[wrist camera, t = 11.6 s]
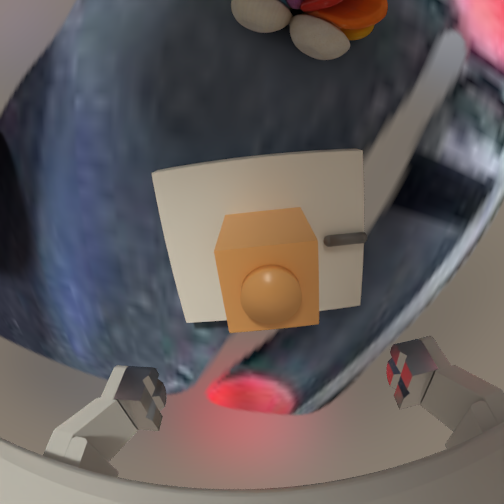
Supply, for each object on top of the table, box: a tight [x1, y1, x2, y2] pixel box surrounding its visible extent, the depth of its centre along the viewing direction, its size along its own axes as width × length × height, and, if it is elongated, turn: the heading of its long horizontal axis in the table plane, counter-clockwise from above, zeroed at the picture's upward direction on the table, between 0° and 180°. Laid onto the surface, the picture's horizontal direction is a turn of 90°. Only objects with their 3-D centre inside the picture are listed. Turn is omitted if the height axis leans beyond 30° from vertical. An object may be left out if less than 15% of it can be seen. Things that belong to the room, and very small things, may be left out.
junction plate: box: [151, 148, 367, 323], centre depth 20 cm, size 12×14×6 cm
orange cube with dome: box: [214, 207, 319, 333], centre depth 18 cm, size 5×5×7 cm
